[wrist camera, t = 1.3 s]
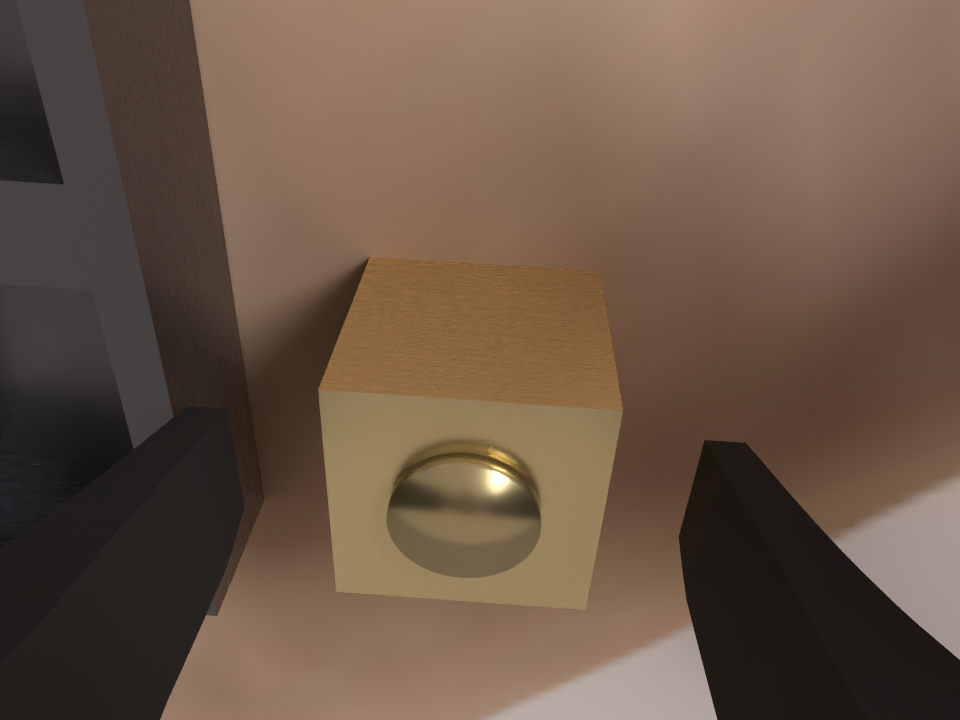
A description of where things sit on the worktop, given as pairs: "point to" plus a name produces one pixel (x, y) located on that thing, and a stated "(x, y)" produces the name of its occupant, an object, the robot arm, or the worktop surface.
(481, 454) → the wooden knob block
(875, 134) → the worktop surface
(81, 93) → the cabinet frame
